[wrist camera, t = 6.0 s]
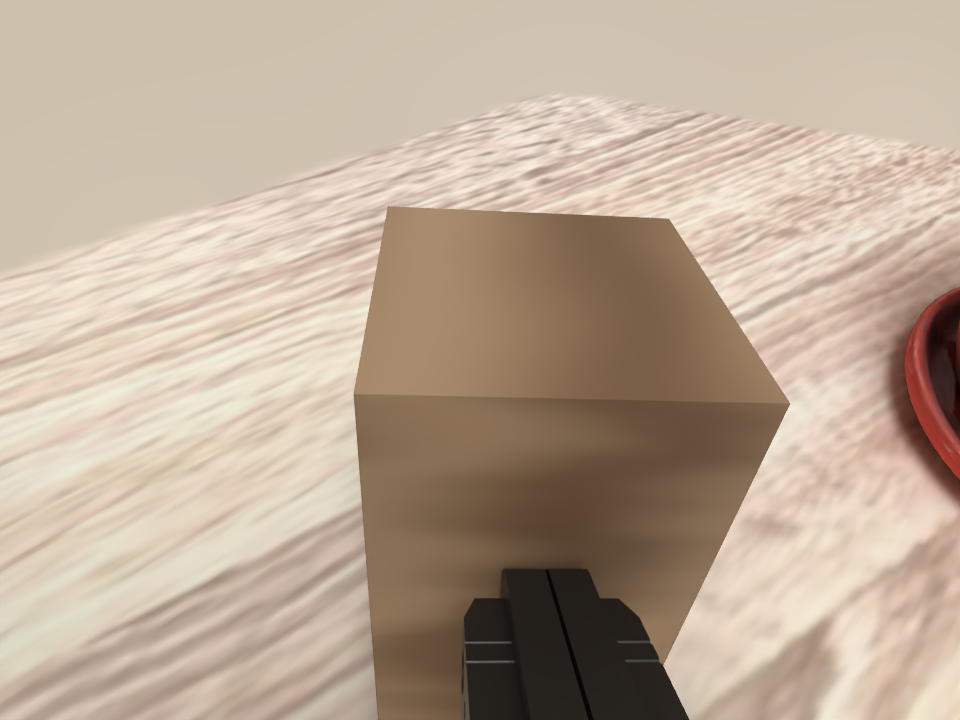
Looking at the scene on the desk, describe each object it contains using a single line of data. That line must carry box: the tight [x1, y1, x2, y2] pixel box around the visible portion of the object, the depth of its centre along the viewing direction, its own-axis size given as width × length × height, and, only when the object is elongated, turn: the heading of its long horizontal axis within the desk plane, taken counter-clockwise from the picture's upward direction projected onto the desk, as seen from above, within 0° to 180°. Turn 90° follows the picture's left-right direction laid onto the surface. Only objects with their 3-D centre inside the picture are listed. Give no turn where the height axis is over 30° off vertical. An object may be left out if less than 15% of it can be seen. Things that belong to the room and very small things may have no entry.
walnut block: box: [354, 207, 790, 720], centre depth 14 cm, size 6×6×12 cm
